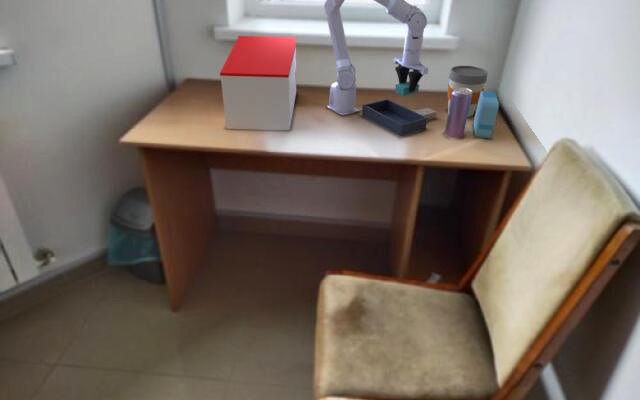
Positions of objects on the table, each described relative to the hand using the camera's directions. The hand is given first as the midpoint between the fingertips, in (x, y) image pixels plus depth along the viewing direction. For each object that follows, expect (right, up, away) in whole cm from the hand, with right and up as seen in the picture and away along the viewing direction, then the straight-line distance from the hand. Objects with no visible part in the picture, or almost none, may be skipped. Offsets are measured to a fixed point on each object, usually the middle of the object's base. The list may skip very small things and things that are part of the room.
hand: (407, 89), depth 152 cm
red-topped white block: (-50, -6, +5) cm, 51 cm away
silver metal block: (+6, -10, 0) cm, 12 cm away
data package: (+23, -16, -7) cm, 29 cm away
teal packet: (0, -1, +1) cm, 1 cm away
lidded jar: (+20, -7, +6) cm, 22 cm away
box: (-5, -12, -3) cm, 14 cm away
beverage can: (+13, -17, -10) cm, 24 cm away
